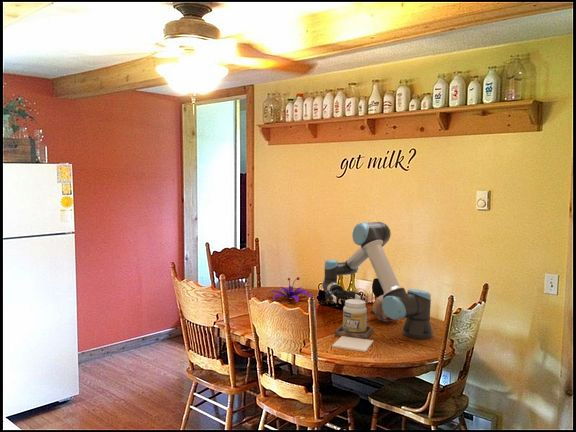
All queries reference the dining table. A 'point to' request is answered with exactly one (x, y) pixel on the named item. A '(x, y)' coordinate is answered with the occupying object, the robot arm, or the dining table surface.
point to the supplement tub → (354, 316)
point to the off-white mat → (353, 343)
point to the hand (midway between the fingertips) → (347, 299)
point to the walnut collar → (354, 335)
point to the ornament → (380, 310)
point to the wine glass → (377, 289)
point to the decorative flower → (291, 292)
